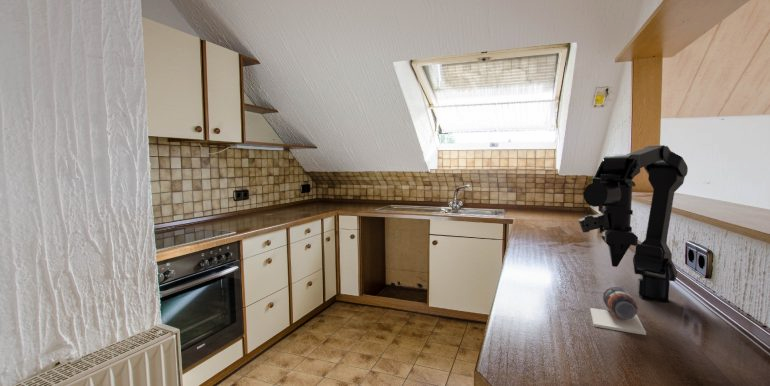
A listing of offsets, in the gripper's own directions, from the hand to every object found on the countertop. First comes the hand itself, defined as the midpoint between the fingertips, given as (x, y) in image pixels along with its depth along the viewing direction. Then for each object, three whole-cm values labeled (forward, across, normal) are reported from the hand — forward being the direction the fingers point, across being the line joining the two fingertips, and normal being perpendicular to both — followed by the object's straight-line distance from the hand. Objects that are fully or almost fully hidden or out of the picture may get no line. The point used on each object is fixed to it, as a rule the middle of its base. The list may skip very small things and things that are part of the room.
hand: (614, 266), depth 93 cm
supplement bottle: (+8, -2, +1) cm, 9 cm away
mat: (+12, +7, 0) cm, 14 cm away
